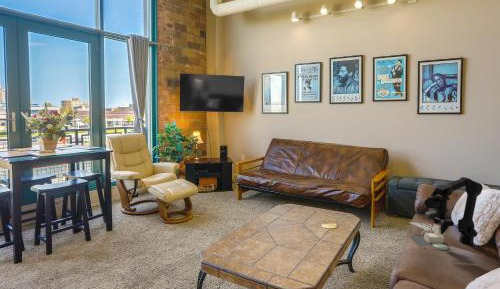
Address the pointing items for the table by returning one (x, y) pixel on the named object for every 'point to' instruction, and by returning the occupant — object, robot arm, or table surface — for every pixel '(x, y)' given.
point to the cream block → (437, 229)
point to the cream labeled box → (433, 238)
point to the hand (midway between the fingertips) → (439, 232)
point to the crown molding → (423, 226)
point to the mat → (422, 241)
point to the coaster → (440, 246)
